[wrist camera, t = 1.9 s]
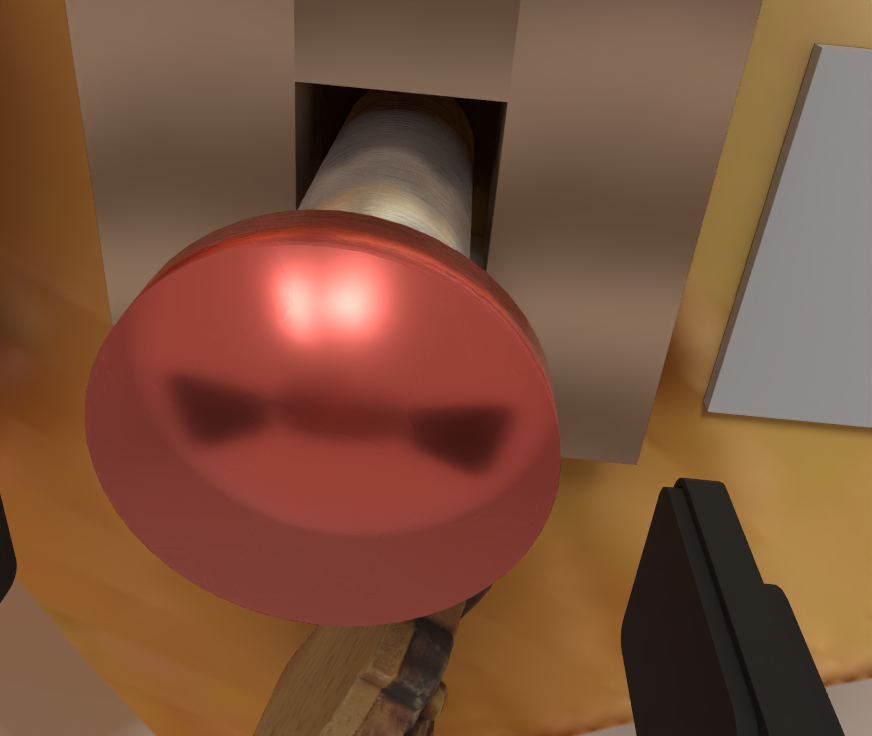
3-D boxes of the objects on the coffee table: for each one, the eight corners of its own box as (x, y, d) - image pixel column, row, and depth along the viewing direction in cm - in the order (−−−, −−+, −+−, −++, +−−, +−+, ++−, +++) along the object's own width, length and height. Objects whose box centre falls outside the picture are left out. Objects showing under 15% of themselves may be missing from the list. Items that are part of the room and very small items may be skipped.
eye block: (108, -200, 20) (33, -212, 17) (747, -138, 20) (800, -138, 17) (167, 349, 29) (125, 415, 25) (619, 393, 29) (636, 464, 25)
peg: (294, 15, 23) (46, 220, 10) (536, 39, 23) (602, 273, 10) (296, 241, 26) (116, 605, 14) (505, 261, 26) (524, 644, 14)
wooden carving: (353, 697, 39) (316, 932, 30) (262, 666, 38) (198, 898, 29) (525, 455, 31) (540, 684, 22) (415, 407, 30) (387, 626, 21)
